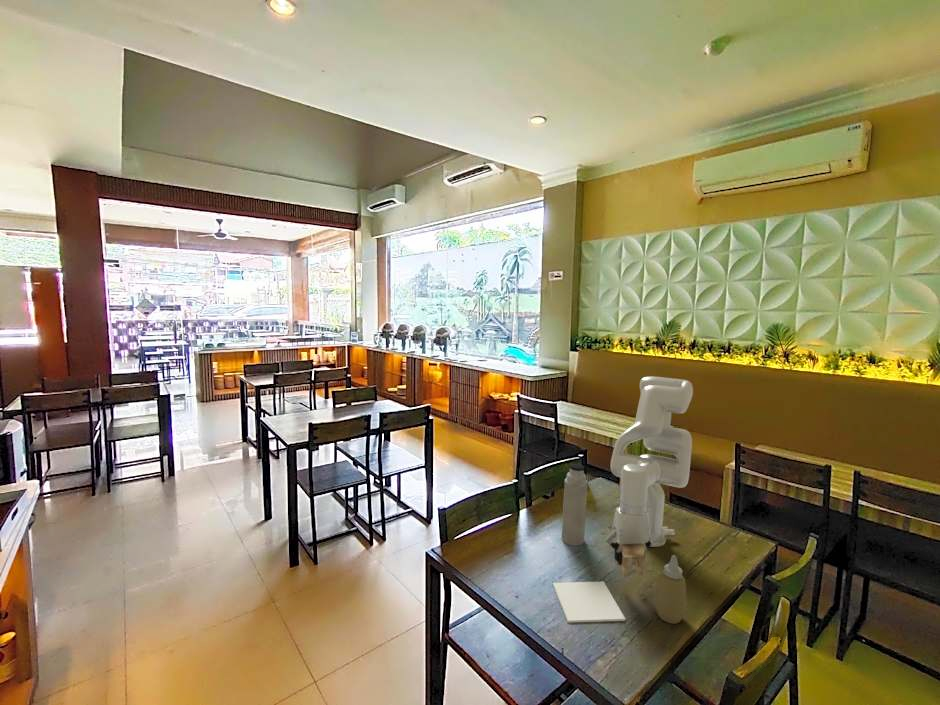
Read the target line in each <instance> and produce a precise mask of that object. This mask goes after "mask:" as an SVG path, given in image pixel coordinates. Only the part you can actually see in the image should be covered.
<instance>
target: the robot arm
mask: <svg viewBox="0 0 940 705" xmlns="http://www.w3.org/2000/svg"><path fill="white" fill-rule="evenodd" d="M639 391H640V396H639V400H638V406H637V409H636V410H637V411H636V415H635V420H634V423H633V425H631V426H630V427H629V428H627V429H625V430H624V431H623V432H622V433H621V434H620V435H619V437H618V438H617V439H616V440H615V444H614V446H613V451H612V455H611V459H610V471H611V473H612V475H614V476H616V477H619V478H620V490H619V506H617V507H616V508H615V510H614V514H613V520H612V527H611V532H609V533H608V534H607V536H605V538H604V540H605V542H606V543H607V544H608V545H609V546H610V547H612V548H613V550H614V555H613V556H614V560H616V561H617V562H618V564H619V565H621V564H622V552H621V550H622V546H624V544H641V546H643V547H644V549H645V550H644V560H645V556H646V555H645V554H646V552H647V551H648V549H649V547H651V548H659V547H662V546H664V545H665V544H666V541H667V539H666V538H667V535H668V536H674V535H675V534H676V532H675V529H673V528H669V527H668V526H663V522H664V509H665V496H666V495H665V492H664V489H663V487H662V486H661V485H665V486H670V487H674V488H679V489H681V488H685V487H686V486H687V485H688V483H689V479H690V470H691V459H692V449H693V447H692V446H693V438H692V434H691V432H689V431H688V430H687V429H684V428H678V427H673V426H671V421H672V414H680V415H681V414H684V413H686V412H687V410H688V408H689V406H690V403H691V401H692V398H693V395H694V387H693V384H692V383H691V381H689V380H687V379H682V378H681V379H679V378H672V377H662V376H651V375H650V376H644V377H642V378H641V379H640V381H639ZM639 440H643V446H644V447H645V449H647V450H649V451H654V452H658V453H662V454H669V455H672V456H673V455H674V457H675V458H671V457H666V456H661V455H657V454H649V453H645V454H644V453H643V454H641V455H633V454H630V453H624V452H625V449H626V447H627V446H629V445H631V443H634V442H636V441H639ZM614 539H615V541H614ZM621 566H622V565H621Z"/></svg>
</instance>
